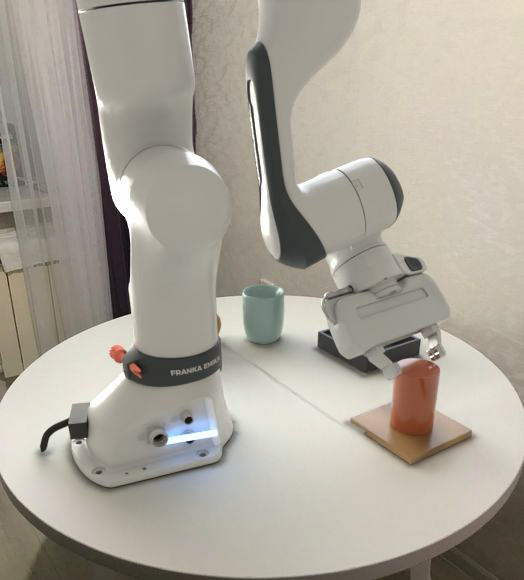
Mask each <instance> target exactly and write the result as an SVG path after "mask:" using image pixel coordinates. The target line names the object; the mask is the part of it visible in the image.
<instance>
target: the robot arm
mask: <svg viewBox="0 0 524 580" xmlns="http://www.w3.org/2000/svg"><path fill="white" fill-rule="evenodd" d="M75 2H76V7H77V12H78V17H79V22H80V26H81V31H82V36H83V41H84V45H85V49H86V54H87V60H88V64H89V69H90V72H91V77H92V82H93V87H94V92H95V97H96V104H97V110H98V118H99V127H100V134H101V141H102V146H103V153H104V159H105V165H106V172H107V176H108V177H107V178H108V183H109V188H110V192H111V193H110V194H111V197H112V201H113V203H114V205H115V207H116V208H117V210H118V211H119V212H120V214H122V216H124V217H125V220H126V222H127V226H128V230H129V239H130V277H129V283H128V294H129V295H128V296H129V303H130V312H131V314H130V315H131V322H132V332H133V341H132V344H131V346H130V348H129V349H128V350H126V349H125V348H124V347H123V346H122V345H120V344H115V345H112V346H111V347H110V349H109V353H108V355H109V357H110V358H111V359H113V361H114V362H115V363H117V364H122V372H121V373H120V374H119V375H118V376H117V377H116V378H115V379H114V380H113V381H111V383H110V384H108V385H107V387H106V388H105V389H103V390H102V391H101V392H100V393H99V394H98V395H97V396H96V397H94V399H93V400H91V402H89V401H88V402H77V403H72V404H71V409H70V413H69V417H67V418H66V419H63V420H60V421H58V422H56V423H54V424H52V425H50V426H48V427H47V429H46V430H45V431H44V433H43V434H42V436H41V440H40V444H39V449H40V453H44V452H46V450H47V448H48V445H49V441H50V438H51V436H52V435H54V434H55V433H56V432H58V431H59V430H63V429H65V428H68V434H69V437H70V438H69V439H70V440H71V454H72V458H73V460H74V462H75V464H76V466H77V467H78V469H79V470H80V471H81V473H82V474H83V475H84V476H85V477H86V478H87V479H89V480H90V481H91V482H92V483H94V484H97V485H99V486H102V487H105V488H115V487H120V486H124V485H128V484H132V483H137V482H140V481H145V480H149V479H152V478H157V477H161V476H165V475H171V474H173V473H174V474H175V473H178V472H181V471H186V470H190V469H195V468H198V467H202V466H207V465H210V464H214V463H215V464H216V462H219V461H220V460H221V458H222V455H223V448H224V446H225V445H226V443H227V442H228V441H229V440H230V439H231V437H232V435H233V433H234V432H233V431H234V423H233V420H232V418H231V416H230V413H229V410H228V406H227V403H226V398H225V393H224V388H223V387H224V386H223V381H222V373H221V372H222V371H223V351H222V350H223V349H222V348H223V347H222V339H221V336H220V334H219V335H218V330H217V314H218V309H217V308H218V307H217V277H218V269H219V262H220V257H221V250H222V244H223V237H224V235H225V234H226V232H227V231H228V228H229V225H230V224H231V219H232V213H233V204H232V203H233V202H232V197H231V195H230V191H229V188H228V187H227V185H226V183H225V181H224V180H223V178H222V176H221V175H220V174H219V173H218V171H217V169H216V168H215V167H214V166H213V165H212V164H211V163H210V162H209V161H208V160H206V159H205V158H203V157H201V156H200V155H198V154H196V153H195V150H194V142H193V107H194V106H193V104H194V94H195V91H196V75H195V67H194V60H193V54H192V46H191V40H190V32H189V24H188V18H187V12H186V11H187V10H186V4H185V0H75ZM257 5H258V27H257V33H256V39H255V43H253V45H252V46H251V47H250V49H249V50H248V51H247V53H246V57H245V69H244V71H245V75H244V76H245V89H246V99H247V109H248V118H249V124H250V133H251V139H252V148H253V156H254V162H255V163H254V164H255V169H256V170H255V171H256V178H257V186H258V204H259V222H260V232H261V236H262V239H263V242H264V245H265V248H266V249H267V251H268V253H269V255H270V256H271V258H272V259H273V260H274V261H276V262H277V263H279V264H281V265H284V266H286V267H289V268H293V269H297V270H306V269H308V268H309V267H312V266H313V265H315V264H317V263H319V262H321V261H322V260H325V261H326V262H327V265H328V267H329V271H330V276H331V278H332V280H333V281H334V283H335V285H336V287H337V288H338V289H336V290H330V291H327V292H325V294H323V297H322V299H321V302H320V308H321V311H322V313H323V314H324V317H325V318H326V323H327V326H328V329H330V332H331V335H332V337H333V340H334V342H335V344H336V347H337V349H338V351H339V353H340V354H341V355H342V356H344V357H345V358H347V359H352V358H354V357H357V356H360V355H362V354H366V356H367V358H368V360H369V361H370V362H371V363H373V364H374V365H375V366H377V367H378V368H379V369H378V370H380V371H382V373H383V375H384V377H385V379H386V380H387V381H391V380H394V378H396V377H398V376H400V375H402V370H401V368H400V366H399V364H398V362H395V363H393V362H392V361H391V360H389V359H388V358H387V357H386V356H385V355H384V354H383V353H384V352H385V350H384V348H383V346H386V345H389V344H391V343H394V342H397V341H399V340H402V339H405V338H407V337H410V336H412V335H413V336H415V335H417V334H421V335H422V337H423V339H425V340H426V339H427V343H428V349H427V350H426V353H427V355H428V356H429V359H430V361H431V362H435V361H438V360H441V359H442V358H444V357H446V355H447V351H446V350H445V348H444V346H443V345H442V344H443V343H442V332H441V328H440V326H439V325H441V324H443V323H445V321H447V320H448V319H450V318H451V307H450V305H449V303H448V301H447V299H446V298H445V296H444V294H443V292H442V290H441V289H440V287H439V286H438V284H437V282H436V281H435V279H434V278H433V277H431V275H429V274H427V273H424V272H426V271H427V269H428V268H427V264H426V263H425V261H424V260H423V258H422V257H419V256H412V255H405V254H401V253H398V252H395V251H394V252H393V251H392V250H391V249H390V247H389V245H388V244H387V243H386V241H384V240H383V238H382V233H383V232H384V231H385V230H387V229H389V228H390V227H392V226H393V225H394V224H395V223H396V221H397V220H398V218H399V216H400V214H401V211H402V208H403V205H404V200H405V194H404V190H403V188H402V185H401V183H400V181H399V179H398V177H397V175H396V174H395V172H394V171H393V170H392V169H391V167H389V166H388V165H387V164H386V163H385V162H383V161H382V160H380V159H378V158H375V157H372V156H367V157H363V158H358V159H356V160H353V161H350V162H347V163H346V164H343V165H341V166H338V167H335V168H334V169H331V170H328V171H324V172H322V173H318V174H317V175H315V176H314V177H312V178H311V179H308V180H306V181H304V182H301V183H298V179H297V168H296V161H295V152H294V142H293V141H294V140H293V133H292V131H293V130H292V112H293V108H294V105H295V102H296V100H297V98H298V96H299V95H300V94H301V92H302V90H304V88H305V87H306V85H307V84H308V83H309V82H310V81H311V80H312V78H313V77H315V76H316V75H317V74H318V73H319V72H320V71H321V70H322V69H323V68H324V67H325V66H326V65H328V64H329V62H331V61H332V60H333V59H334V58H335V57H336V56H337V55H338V54H339V53H340V52H341V50H342V49H343V48H344V47H345V45H346V44H347V42H349V39H350V38H351V36H352V34H353V33H354V31H355V28H356V26H357V24H358V21H359V18H360V14H361V11H362V0H257Z"/></svg>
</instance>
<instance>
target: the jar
mask: <svg viewBox="0 0 524 580" xmlns="http://www.w3.org/2000/svg"><path fill="white" fill-rule="evenodd" d="M398 364H399V366H400V368H401V370H402V375H400V376H398V377H396V378H394V379H393V383H392V384H393V385H392V395H391V402H392V404H391V414H390V425H391V426H392V427H393V428H394V429H395V430H397V431H398V432H400V433H403V434H407V435H424V434H427V433H429V432H430V431H431V430H432V429H433V423H434V415H435V410H436V407H437V399H438V391H439V384H440V378H441V367H440V366H439V365H438V364H436V363H435V362H434V361H432V360H428V359H423V358H418V357H417V358H416V357H411V358H408V359H403V360H400V361H398Z"/></svg>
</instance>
